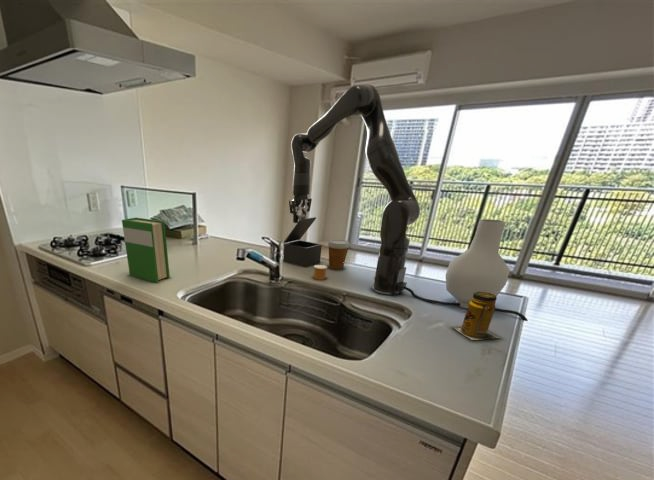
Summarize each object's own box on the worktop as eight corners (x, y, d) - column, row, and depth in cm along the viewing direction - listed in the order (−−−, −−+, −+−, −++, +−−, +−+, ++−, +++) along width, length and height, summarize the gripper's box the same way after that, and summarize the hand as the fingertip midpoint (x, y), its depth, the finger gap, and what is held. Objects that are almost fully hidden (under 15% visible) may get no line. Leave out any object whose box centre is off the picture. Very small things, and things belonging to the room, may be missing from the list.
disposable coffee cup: (321, 266, 158) (323, 240, 153) (337, 263, 162) (340, 238, 156) (334, 271, 150) (338, 245, 145) (351, 268, 154) (354, 242, 149)
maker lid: (316, 218, 158) (310, 210, 160) (300, 221, 152) (294, 213, 153) (299, 239, 169) (294, 232, 171) (284, 243, 163) (278, 235, 164)
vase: (498, 319, 105) (531, 227, 93) (437, 308, 112) (461, 223, 100) (493, 301, 117) (522, 219, 105) (439, 293, 125) (460, 215, 113)
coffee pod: (328, 278, 142) (329, 266, 140) (320, 281, 139) (322, 269, 137) (318, 275, 146) (319, 264, 144) (310, 277, 143) (311, 266, 141)
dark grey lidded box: (320, 262, 164) (321, 244, 160) (305, 267, 157) (306, 248, 154) (298, 256, 173) (299, 239, 170) (283, 261, 167) (284, 243, 163)
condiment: (453, 328, 99) (464, 290, 94) (480, 327, 100) (492, 289, 95) (471, 340, 93) (484, 300, 88) (500, 338, 93) (515, 298, 88)
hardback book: (169, 278, 146) (164, 221, 135) (156, 282, 140) (150, 223, 130) (142, 271, 155) (135, 217, 145) (129, 275, 150) (121, 219, 139)
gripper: (297, 184, 146) (295, 224, 153) (318, 182, 154) (315, 221, 161) (284, 184, 151) (283, 223, 158) (304, 182, 159) (302, 219, 166)
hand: (299, 221), depth 159 cm, fingers closed on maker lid, 5 cm apart
